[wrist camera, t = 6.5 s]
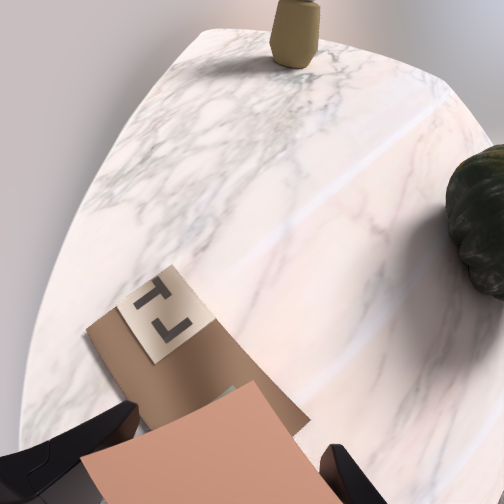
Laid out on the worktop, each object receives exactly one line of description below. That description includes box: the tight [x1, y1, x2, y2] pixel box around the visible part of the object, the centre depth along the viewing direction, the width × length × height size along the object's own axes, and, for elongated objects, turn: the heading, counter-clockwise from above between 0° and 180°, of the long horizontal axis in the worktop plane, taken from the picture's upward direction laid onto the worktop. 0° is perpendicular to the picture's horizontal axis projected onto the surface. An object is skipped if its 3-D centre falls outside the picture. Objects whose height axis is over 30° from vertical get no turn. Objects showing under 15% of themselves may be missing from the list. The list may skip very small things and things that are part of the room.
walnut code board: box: [86, 265, 311, 437], centre depth 16 cm, size 8×14×1 cm, turn 41°
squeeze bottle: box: [269, 0, 320, 68], centre depth 32 cm, size 8×8×18 cm
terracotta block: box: [80, 380, 343, 504], centre depth 8 cm, size 4×4×10 cm
